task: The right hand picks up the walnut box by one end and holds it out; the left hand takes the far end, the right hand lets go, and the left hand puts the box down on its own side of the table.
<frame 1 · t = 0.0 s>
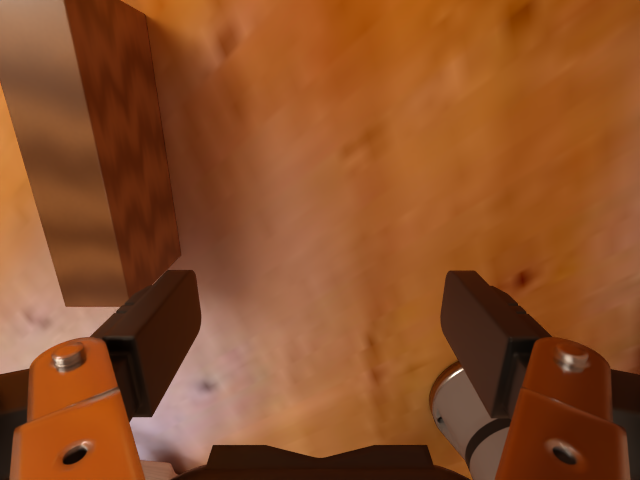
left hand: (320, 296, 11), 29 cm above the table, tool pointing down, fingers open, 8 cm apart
box: (138, 148, 38), on the table
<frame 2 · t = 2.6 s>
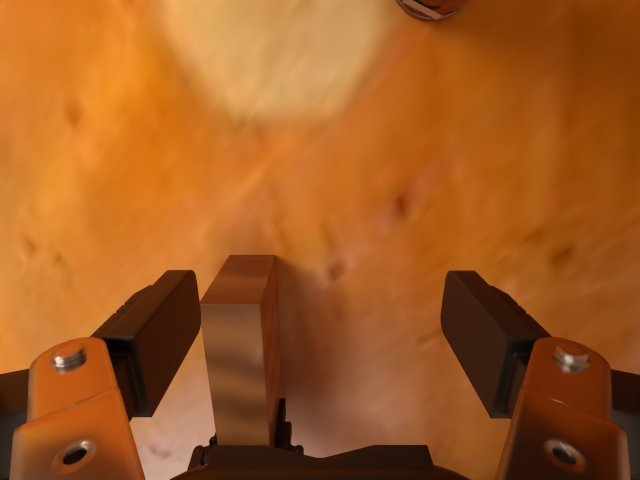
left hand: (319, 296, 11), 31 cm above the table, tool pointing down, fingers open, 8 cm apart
box: (258, 338, 48), on the table, touching right hand
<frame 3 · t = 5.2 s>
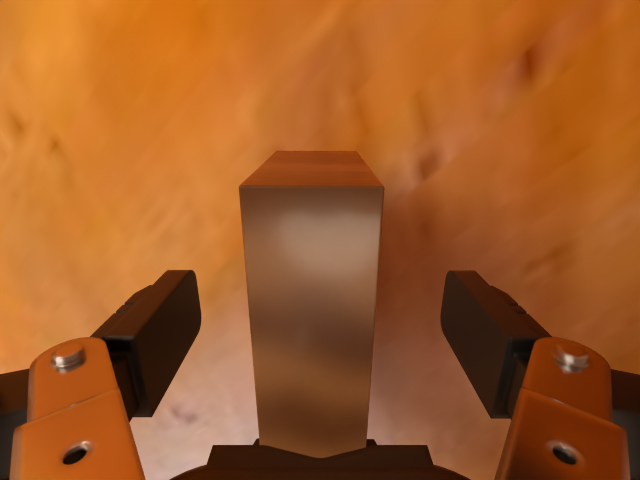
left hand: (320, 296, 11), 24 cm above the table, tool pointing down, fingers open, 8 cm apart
box: (316, 302, 30), point 8 cm above the table, touching right hand
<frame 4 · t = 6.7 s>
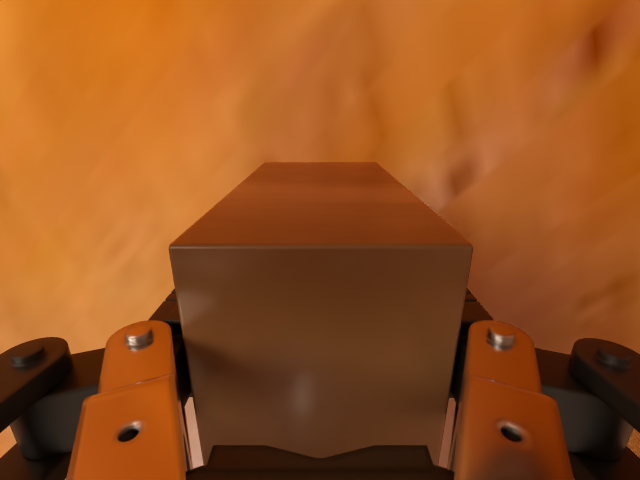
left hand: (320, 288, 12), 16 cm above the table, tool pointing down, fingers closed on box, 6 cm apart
box: (320, 362, 22), point 8 cm above the table, touching left hand, right hand
when the right hand's fingers open (10 cm above the table, at t = 7.7 s): box stays where it is, held by the left hand.
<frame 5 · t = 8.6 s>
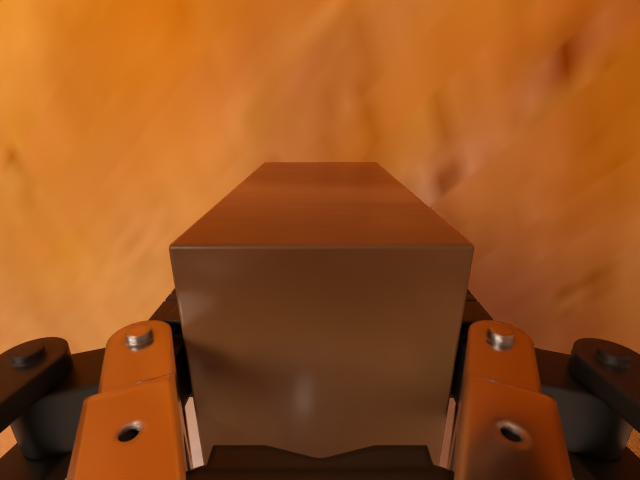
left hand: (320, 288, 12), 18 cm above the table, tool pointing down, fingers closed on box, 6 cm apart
box: (320, 362, 22), point 10 cm above the table, touching left hand
when the left hand's fingers open (9 cm above the table, at t = 12.6 s): box drops 2 cm, on the table.
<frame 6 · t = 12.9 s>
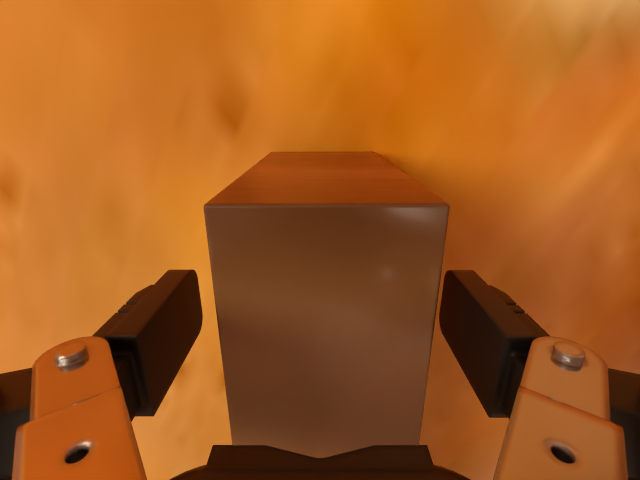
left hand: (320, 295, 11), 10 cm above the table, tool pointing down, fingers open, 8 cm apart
box: (322, 340, 24), on the table
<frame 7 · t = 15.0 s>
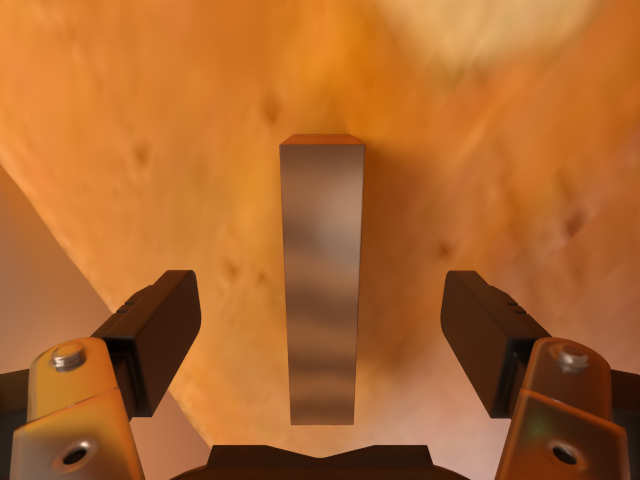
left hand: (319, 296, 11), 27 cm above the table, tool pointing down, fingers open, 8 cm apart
box: (321, 251, 39), on the table
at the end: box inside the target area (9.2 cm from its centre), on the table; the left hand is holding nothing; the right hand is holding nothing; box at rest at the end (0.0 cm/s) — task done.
